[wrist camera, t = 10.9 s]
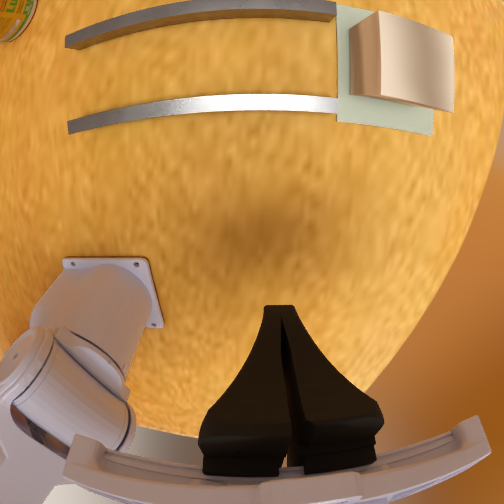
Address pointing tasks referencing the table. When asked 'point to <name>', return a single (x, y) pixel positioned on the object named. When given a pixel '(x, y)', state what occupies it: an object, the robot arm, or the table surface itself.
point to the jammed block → (402, 62)
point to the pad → (364, 107)
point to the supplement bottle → (15, 17)
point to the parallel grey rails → (198, 9)
